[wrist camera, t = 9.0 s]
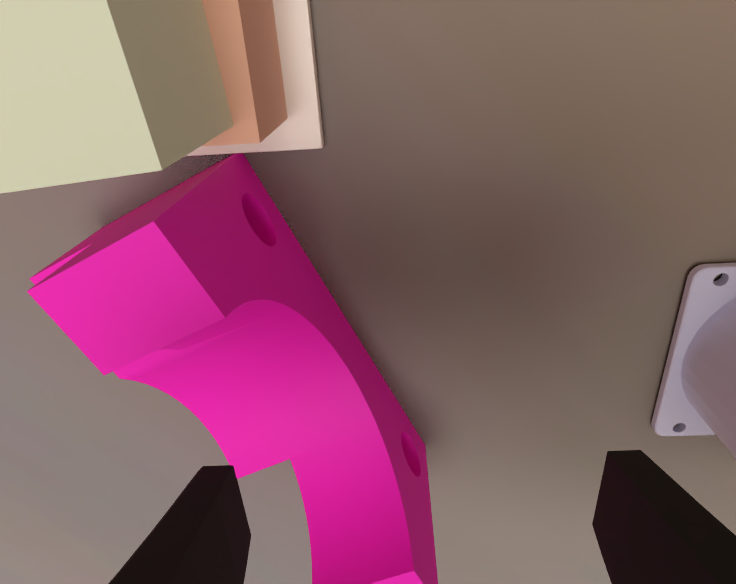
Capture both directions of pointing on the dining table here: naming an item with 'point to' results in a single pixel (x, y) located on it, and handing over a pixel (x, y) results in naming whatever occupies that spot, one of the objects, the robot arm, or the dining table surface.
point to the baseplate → (290, 86)
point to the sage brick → (104, 89)
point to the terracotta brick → (247, 68)
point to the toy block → (255, 362)
